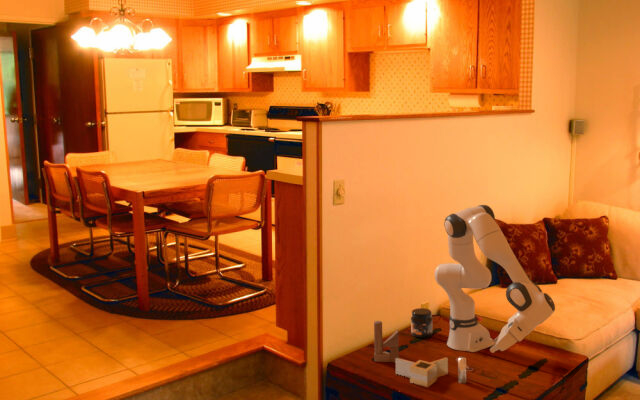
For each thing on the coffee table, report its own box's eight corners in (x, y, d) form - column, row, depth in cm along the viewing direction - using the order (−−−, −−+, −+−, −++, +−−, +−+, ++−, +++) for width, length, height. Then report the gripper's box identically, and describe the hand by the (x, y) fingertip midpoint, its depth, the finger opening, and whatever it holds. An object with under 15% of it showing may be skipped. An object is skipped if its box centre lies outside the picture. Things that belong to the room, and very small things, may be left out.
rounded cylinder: (463, 379, 257) (463, 356, 256) (467, 382, 254) (467, 359, 253) (456, 380, 256) (456, 357, 254) (461, 384, 253) (460, 360, 251)
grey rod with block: (398, 362, 275) (397, 323, 273) (374, 362, 277) (373, 323, 274) (398, 359, 279) (398, 320, 276) (374, 358, 281) (373, 320, 278)
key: (451, 359, 279) (461, 373, 264) (451, 357, 279) (461, 371, 264) (464, 357, 279) (475, 371, 264) (464, 355, 279) (474, 369, 264)
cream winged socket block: (448, 373, 263) (448, 357, 262) (429, 388, 250) (429, 371, 249) (411, 363, 274) (410, 348, 273) (391, 377, 262) (391, 361, 260)
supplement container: (406, 334, 308) (406, 311, 307) (421, 329, 315) (421, 306, 313) (421, 340, 300) (421, 316, 298) (437, 335, 306) (437, 311, 304)
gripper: (516, 311, 252) (491, 331, 257) (510, 328, 234) (483, 349, 239) (527, 323, 251) (502, 343, 256) (522, 341, 232) (495, 362, 238)
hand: (493, 346), depth 247 cm, fingers open, 8 cm apart
